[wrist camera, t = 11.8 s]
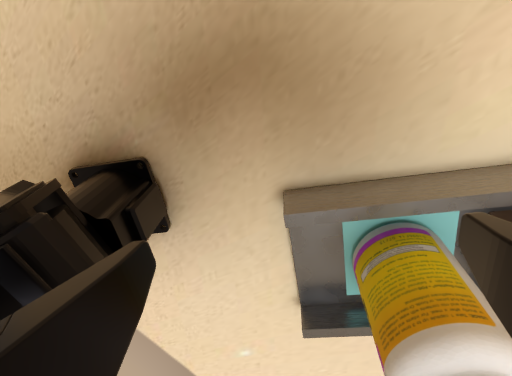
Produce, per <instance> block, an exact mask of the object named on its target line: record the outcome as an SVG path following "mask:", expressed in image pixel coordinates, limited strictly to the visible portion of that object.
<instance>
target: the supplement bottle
mask: <svg viewBox="0 0 512 376" xmlns="http://www.w3.org/2000/svg"><path fill="white" fill-rule="evenodd" d="M352 264H353V270H354V274H355V278H356V281H357V284H358V288H359V291H360V295H361V298H362V301H363V304H364V308H365V311H366V314H367V318H368V321H369V325H370V328H371V331H372V334H373V338H374V341H375V344H376V348H377V351H378V355H379V358H380V361H381V365H382V368H383V372H384V375H385V376H512V338H511V337H510V335H509V334H508V332H507V331H506V329H505V328H504V326H503V325H502V323H501V322H500V320H499V319H498V317H497V316H496V314H495V313H494V311H493V309H492V308H491V306H490V305H489V303H488V301H487V300H486V298H485V296H484V295H483V293H482V292H481V291H480V289H479V288H478V287H477V286H476V284H475V283H474V282H473V280H472V279H471V278H470V276H469V275H468V274H467V273H466V271H465V270H464V269H463V267H462V266H461V265H460V263H459V262H458V261H457V260H456V258H455V257H454V256H453V254H452V253H451V252H450V251H449V249H448V248H447V247H446V245H445V244H444V243H443V242H442V240H441V239H440V238H439V237H438V236H437V235H436V234H435V233H434V232H433V231H431V230H430V229H428V228H426V227H424V226H421V225H418V224H414V223H392V224H388V225H384V226H381V227H379V228H377V229H375V230H373V231H371V232H370V233H368V234H367V235H366V236H365V237H364V238H363V239H362V240H361V241H360V242H359V244H358V245H357V247H356V249H355V251H354V254H353V259H352Z"/></svg>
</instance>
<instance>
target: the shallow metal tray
mask: <svg viewBox="0 0 512 376" xmlns="http://www.w3.org/2000/svg"><path fill="white" fill-rule="evenodd" d="M505 210H512V164H509V165H500V166H492V167H483V168H475V169H466V170H458V171H449V172H440V173H432V174H423V175H415V176H406V177H398V178H389V179H381V180H372V181H363V182H355V183H346V184H338V185H329V186H321V187H312V188H304V189H295V190H286V191H284V220H285V226H286V228H288V227H289V232H290V239H291V245H292V252H293V258H294V265H295V271H296V278H297V284H298V290H299V297H300V303H301V318H302V332H303V338H321V337H348V336H373V334H372V331H371V328H370V325H369V321H368V318H367V314H366V311H365V308H364V304H363V301H362V298H361V295H360V291H359V288H358V284H357V281H356V278H355V274H354V270H353V264H352V259H353V254H354V251H355V249H356V247H357V245H358V244H359V242H360V241H361V240H362V239H363V238H364V237H365V236H366V235H367V234H368V233H370V232H371V231H373V230H375V229H377V228H379V227H381V226H384V225H388V224H392V223H414V224H418V225H421V226H424V227H426V228H428V229H430V230H431V231H433V232H434V233H435V234H436V235H437V236H438V237H439V238H440V239H441V240H442V242H443V243H444V244H445V245H446V247H447V248H448V249H449V251H450V252H451V253H452V254H453V256H454V257H455V258H456V260H457V261H458V262H459V263H460V265H461V266H462V267H463V269H464V270H465V271H466V273H467V274H468V275H469V276H470V278H471V279H472V280H473V282H474V283H475V284H476V286H477V287H478V288H479V289H480V287H479V285H478V283H477V281H476V279H475V277H474V275H473V273H472V271H471V269H470V267H469V265H468V263H467V261H466V259H465V257H464V255H463V253H462V251H461V249H460V247H459V243H458V237H459V230H460V224H461V218H462V216H463V215H464V214H465V213H474V212H483V213H486V214H489V212H494V211H505ZM480 291H481V289H480ZM481 292H482V291H481Z"/></svg>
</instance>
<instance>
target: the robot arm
mask: <svg viewBox="0 0 512 376" xmlns="http://www.w3.org/2000/svg"><path fill="white" fill-rule="evenodd" d="M139 163H142V164H143V167H141V166H140V165H139ZM75 173H77V174H78V176H77V175H76V174H75ZM68 174H69V177H70V179H71V181H72V183H73V185H74V187H75V188H73V189H72V190H71V191H69V192H68V193H66V194H65V192H64V191H63V190H62V189H61V184H60V183H59V182H58V181H57V179H56V178H55V179H53V180H51V181H49V182H47V183H44V182H43V181H42V182H40V183H37V184H34V183H31V182H28V181H25V180H22V181H20V182H18V183H16V184H14V185H13V186H11V187H9V188H7V189H5V190H3V191H1V192H0V376H117V374H118V371H119V369H120V367H121V364H122V362H123V359H124V357H125V354H126V352H127V349H128V347H129V345H130V342H131V340H132V337H133V335H134V332H135V330H136V328H137V325H138V323H139V320H140V318H141V315H142V312H143V309H144V306H145V303H146V299H147V296H148V293H149V289H150V286H151V283H152V279H153V276H154V272H155V269H156V261H155V258H154V256H153V253H152V251H151V248H150V246H149V244H148V242H147V240H148V239H149V237H150V236H151V234H154V233H164V232H167V231H168V230H169V228H170V222H169V219H168V216H167V209H166V206H165V203H164V200H163V198H162V195H161V192H160V189H159V186H158V184H156V183H155V180H154V177H153V174H152V172H151V169H150V166H149V163H148V161H147V160H146V159H144V158H135V159H128V160H121V161H114V162H107V163H101V164H94V165H87V166H80V167H75V168H72V169H71V170H70V171H69V173H68ZM162 225H164V226H165V227H163V226H162ZM458 243H459V247H460V249H461V251H462V253H463V255H464V257H465V259H466V261H467V263H468V265H469V267H470V269H471V271H472V273H473V275H474V277H475V279H476V281H477V283H478V285H479V287H480V289H481V291H482V293H483V295H484V296H485V298H486V300H487V301H488V303H489V305H490V306H491V308H492V309H493V311H494V313H495V314H496V316H497V317H498V319H499V320H500V322H501V323H502V325H503V326H504V328H505V329H506V331H507V332H508V334H509V335H510V337H511V338H512V223H511V222H508V221H506V220H503V219H500V218H497V217H495V216H492V215H489V214H486V213H483V212H474V213H465V214H464V215H463V216H462V218H461V224H460V230H459V237H458Z"/></svg>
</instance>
